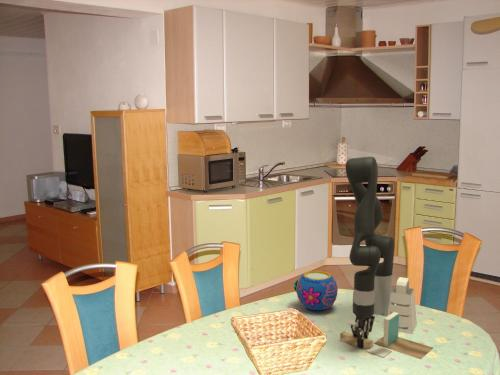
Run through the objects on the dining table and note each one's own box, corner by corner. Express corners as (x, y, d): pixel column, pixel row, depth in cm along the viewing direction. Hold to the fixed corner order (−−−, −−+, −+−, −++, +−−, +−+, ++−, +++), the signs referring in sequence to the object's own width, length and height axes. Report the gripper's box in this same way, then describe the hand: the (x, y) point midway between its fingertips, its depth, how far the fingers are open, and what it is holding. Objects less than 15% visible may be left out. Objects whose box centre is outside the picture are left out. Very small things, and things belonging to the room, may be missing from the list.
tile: (393, 337, 198) (394, 311, 196) (398, 338, 196) (399, 313, 195) (383, 344, 192) (384, 318, 190) (388, 346, 190) (389, 320, 189)
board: (387, 336, 201) (387, 333, 201) (433, 350, 189) (433, 347, 189) (373, 346, 193) (373, 343, 193) (420, 361, 181) (420, 359, 181)
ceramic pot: (314, 297, 241) (314, 265, 238) (345, 308, 228) (346, 275, 225) (287, 307, 229) (287, 274, 227) (319, 319, 216) (319, 284, 214)
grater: (384, 331, 205) (386, 282, 202) (390, 321, 214) (391, 274, 211) (412, 336, 200) (415, 286, 197) (416, 325, 210) (419, 277, 206)
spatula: (337, 343, 194) (337, 334, 193) (346, 337, 198) (346, 329, 198) (383, 359, 182) (384, 350, 181) (391, 352, 186) (392, 344, 186)
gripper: (364, 292, 195) (362, 336, 198) (344, 303, 185) (343, 349, 188) (382, 297, 190) (380, 342, 193) (363, 309, 180) (361, 356, 183)
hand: (362, 346), depth 190 cm, fingers closed on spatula, 2 cm apart
